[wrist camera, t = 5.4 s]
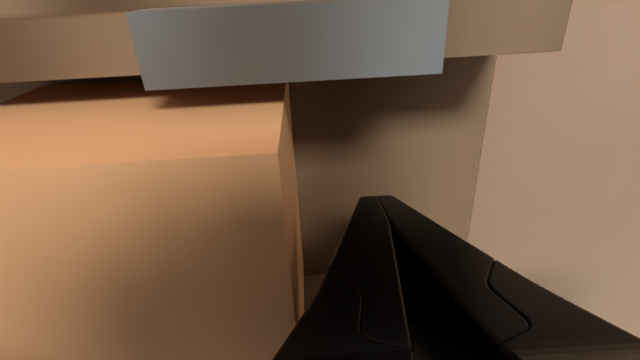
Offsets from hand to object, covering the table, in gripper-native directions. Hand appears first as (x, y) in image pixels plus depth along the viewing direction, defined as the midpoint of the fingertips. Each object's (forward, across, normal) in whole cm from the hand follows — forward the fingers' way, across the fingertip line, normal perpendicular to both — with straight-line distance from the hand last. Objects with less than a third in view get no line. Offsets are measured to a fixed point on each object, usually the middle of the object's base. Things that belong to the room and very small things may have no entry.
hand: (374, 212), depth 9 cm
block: (+2, +5, 0) cm, 5 cm away
